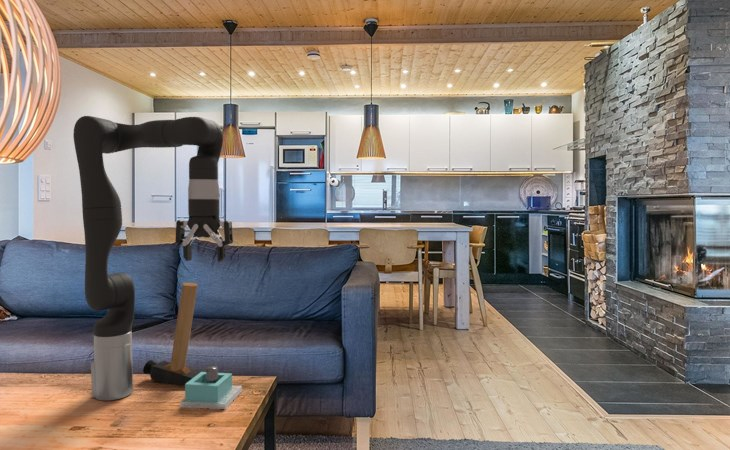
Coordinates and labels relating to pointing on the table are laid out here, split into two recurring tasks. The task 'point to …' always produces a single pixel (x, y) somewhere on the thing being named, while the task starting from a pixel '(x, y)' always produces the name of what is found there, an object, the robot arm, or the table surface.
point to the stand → (221, 404)
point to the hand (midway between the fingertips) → (204, 260)
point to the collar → (208, 387)
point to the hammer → (177, 344)
